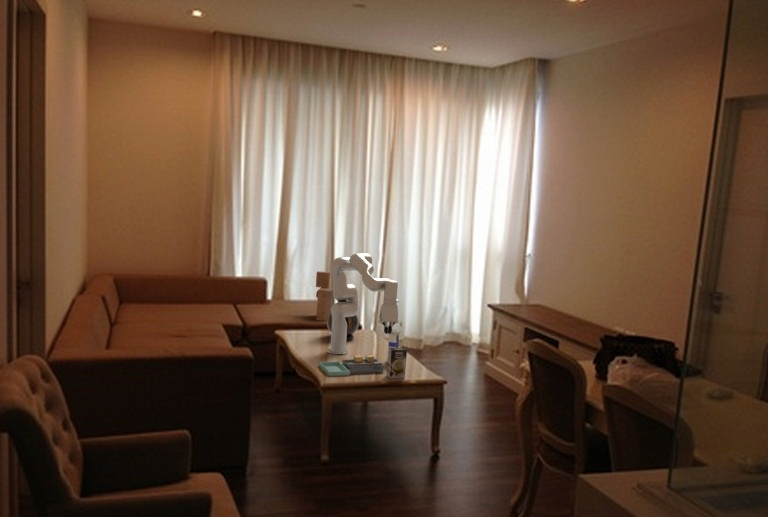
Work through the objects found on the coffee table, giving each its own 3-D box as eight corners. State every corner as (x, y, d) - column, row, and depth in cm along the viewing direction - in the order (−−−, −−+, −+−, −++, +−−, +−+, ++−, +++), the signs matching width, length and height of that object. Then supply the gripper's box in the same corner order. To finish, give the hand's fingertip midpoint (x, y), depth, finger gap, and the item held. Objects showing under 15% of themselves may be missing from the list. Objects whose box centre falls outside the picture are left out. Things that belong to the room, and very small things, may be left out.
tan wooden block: (364, 362, 390) (365, 355, 389) (371, 361, 391) (371, 354, 391) (367, 363, 386) (367, 356, 386) (373, 363, 388) (374, 356, 387)
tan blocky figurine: (315, 315, 538) (318, 271, 534) (333, 316, 537) (335, 272, 533) (310, 319, 519) (313, 274, 516) (329, 321, 518) (332, 275, 514)
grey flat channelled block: (341, 367, 390) (342, 358, 390) (374, 365, 398) (375, 357, 397) (349, 373, 377) (350, 365, 377) (383, 372, 385) (383, 364, 384)
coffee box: (389, 378, 374) (391, 350, 372) (386, 375, 380) (388, 347, 378) (405, 378, 376) (407, 350, 375) (401, 375, 382) (403, 347, 381)
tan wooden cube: (353, 362, 387) (353, 355, 387) (360, 362, 389) (360, 355, 388) (355, 364, 384) (356, 357, 383) (362, 364, 385) (362, 357, 385)
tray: (318, 366, 388) (318, 362, 388) (338, 365, 393) (339, 361, 393) (328, 376, 370) (329, 371, 370) (349, 375, 374) (350, 371, 374)
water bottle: (390, 359, 415) (393, 319, 413) (401, 362, 410) (404, 321, 407) (382, 361, 409) (385, 320, 406) (393, 364, 404) (396, 323, 401)
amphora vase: (356, 342, 454) (359, 301, 451) (324, 340, 454) (327, 299, 451) (358, 335, 475) (361, 296, 472) (327, 333, 475) (330, 294, 472)
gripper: (399, 300, 395) (397, 331, 397) (374, 300, 389) (372, 332, 391) (405, 303, 388) (402, 334, 390) (379, 303, 382) (377, 335, 384)
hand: (387, 333), depth 391 cm, fingers closed
